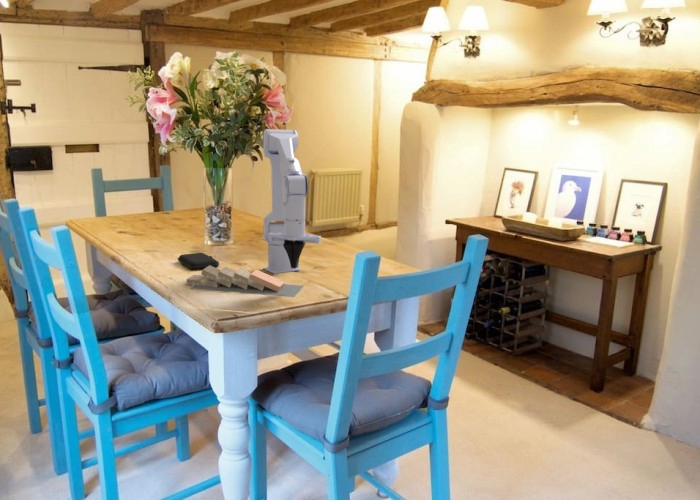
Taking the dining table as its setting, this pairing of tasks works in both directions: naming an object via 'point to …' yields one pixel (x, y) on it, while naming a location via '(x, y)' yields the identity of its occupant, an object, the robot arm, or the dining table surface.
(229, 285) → the ivory domino
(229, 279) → the wooden block
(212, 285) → the beige wooden block
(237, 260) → the dining table surface
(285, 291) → the slate runway mat
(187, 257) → the carrying case or bag
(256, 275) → the terracotta domino
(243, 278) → the wooden block
